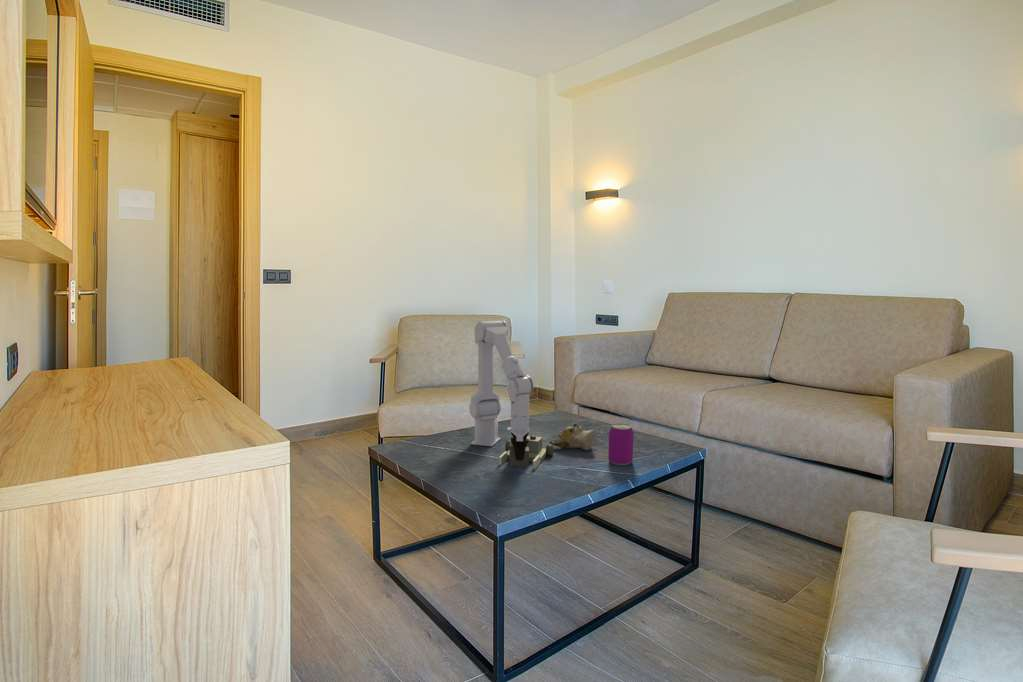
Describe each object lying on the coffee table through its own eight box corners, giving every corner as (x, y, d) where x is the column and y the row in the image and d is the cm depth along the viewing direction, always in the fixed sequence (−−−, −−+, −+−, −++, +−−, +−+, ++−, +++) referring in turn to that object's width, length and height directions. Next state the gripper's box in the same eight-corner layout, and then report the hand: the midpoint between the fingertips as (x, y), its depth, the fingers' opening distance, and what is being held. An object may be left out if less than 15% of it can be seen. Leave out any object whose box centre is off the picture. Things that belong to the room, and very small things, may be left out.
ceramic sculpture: (590, 429, 188) (547, 426, 194) (591, 454, 189) (548, 451, 195) (599, 421, 197) (558, 419, 204) (599, 446, 198) (559, 442, 205)
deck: (508, 448, 194) (508, 431, 194) (553, 453, 190) (554, 435, 189) (492, 464, 179) (492, 444, 179) (541, 469, 175) (541, 450, 174)
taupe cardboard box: (509, 461, 182) (509, 442, 181) (528, 462, 182) (528, 442, 181) (509, 466, 178) (509, 446, 177) (528, 466, 178) (528, 446, 177)
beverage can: (637, 463, 181) (639, 427, 179) (618, 467, 177) (620, 430, 175) (621, 456, 187) (622, 421, 186) (603, 460, 183) (604, 424, 182)
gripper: (507, 408, 185) (507, 449, 187) (506, 420, 171) (506, 464, 172) (529, 409, 185) (529, 449, 187) (530, 421, 171) (529, 464, 172)
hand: (519, 456), depth 180 cm, fingers open, 6 cm apart
